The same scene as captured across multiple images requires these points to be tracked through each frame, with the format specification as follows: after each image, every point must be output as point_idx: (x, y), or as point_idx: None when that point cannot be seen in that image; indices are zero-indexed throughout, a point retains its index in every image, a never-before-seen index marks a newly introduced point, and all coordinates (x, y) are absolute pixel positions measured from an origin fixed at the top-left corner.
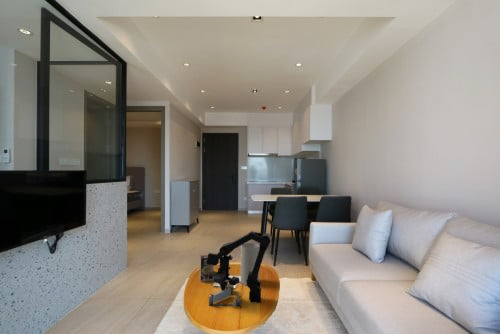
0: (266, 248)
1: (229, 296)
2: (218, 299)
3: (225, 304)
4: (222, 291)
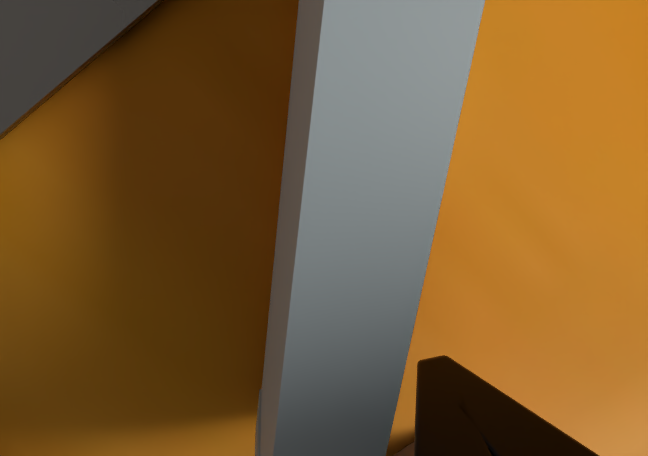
0: None
1: (259, 396)
2: (300, 17)
3: (29, 58)
4: (339, 309)
